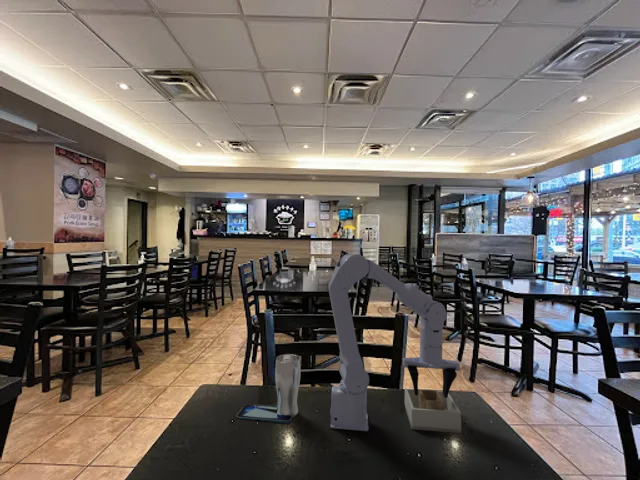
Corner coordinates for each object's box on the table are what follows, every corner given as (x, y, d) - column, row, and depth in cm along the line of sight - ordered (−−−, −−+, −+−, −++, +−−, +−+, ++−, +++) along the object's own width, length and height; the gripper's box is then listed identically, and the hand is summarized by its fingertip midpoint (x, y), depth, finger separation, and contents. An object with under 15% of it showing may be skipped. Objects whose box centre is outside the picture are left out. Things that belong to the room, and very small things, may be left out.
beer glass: (295, 421, 82) (296, 363, 83) (270, 417, 84) (271, 361, 84) (302, 407, 89) (303, 354, 89) (279, 405, 90) (280, 352, 91)
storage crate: (411, 429, 79) (411, 409, 80) (404, 405, 91) (404, 388, 92) (461, 433, 78) (461, 412, 78) (447, 408, 90) (447, 391, 90)
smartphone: (245, 403, 90) (296, 407, 88) (245, 407, 90) (296, 410, 88) (234, 417, 83) (289, 421, 81) (234, 420, 83) (289, 425, 81)
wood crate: (424, 422, 81) (424, 400, 81) (418, 408, 88) (418, 388, 88) (444, 423, 81) (444, 402, 81) (436, 410, 88) (437, 390, 88)
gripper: (406, 347, 82) (405, 399, 82) (463, 350, 80) (463, 404, 80) (402, 339, 89) (401, 387, 89) (455, 342, 87) (454, 391, 87)
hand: (430, 394), depth 85 cm, fingers open, 7 cm apart
